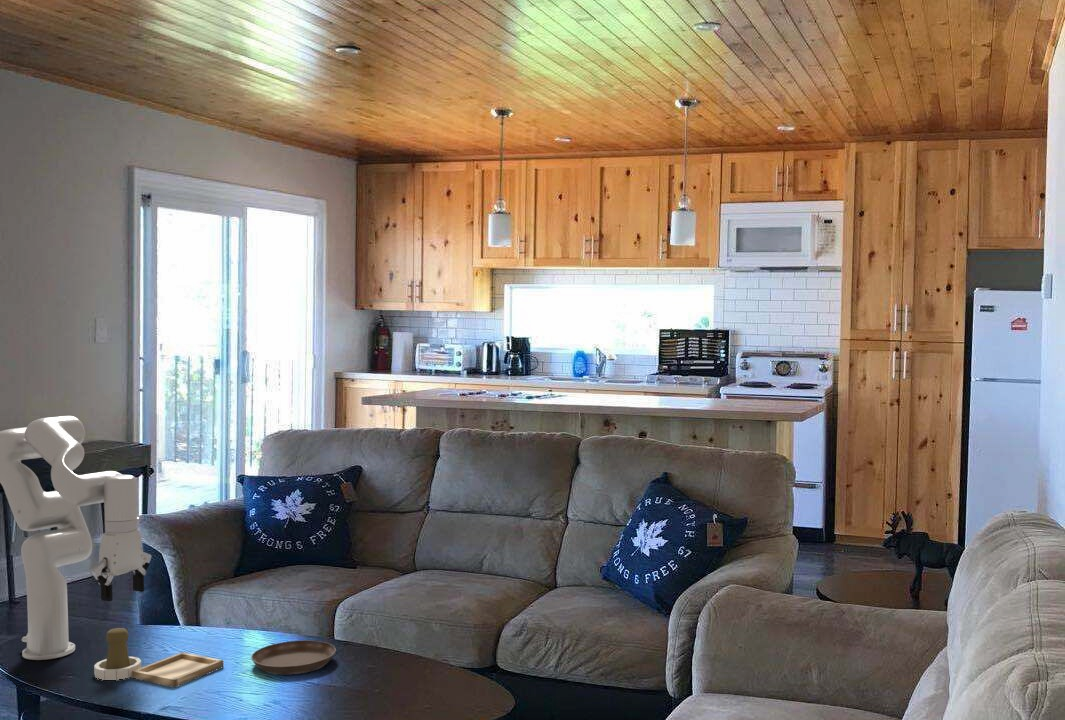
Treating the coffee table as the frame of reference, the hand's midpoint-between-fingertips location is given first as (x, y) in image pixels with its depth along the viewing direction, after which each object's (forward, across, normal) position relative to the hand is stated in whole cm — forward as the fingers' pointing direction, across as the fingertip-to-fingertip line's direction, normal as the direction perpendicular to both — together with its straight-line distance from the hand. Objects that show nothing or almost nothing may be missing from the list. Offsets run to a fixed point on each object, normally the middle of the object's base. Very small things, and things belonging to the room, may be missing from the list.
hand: (122, 595), depth 264 cm
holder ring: (+19, 0, -2) cm, 19 cm away
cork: (+20, 0, -2) cm, 20 cm away
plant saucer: (+20, -24, +32) cm, 45 cm away
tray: (+19, -6, +11) cm, 23 cm away
